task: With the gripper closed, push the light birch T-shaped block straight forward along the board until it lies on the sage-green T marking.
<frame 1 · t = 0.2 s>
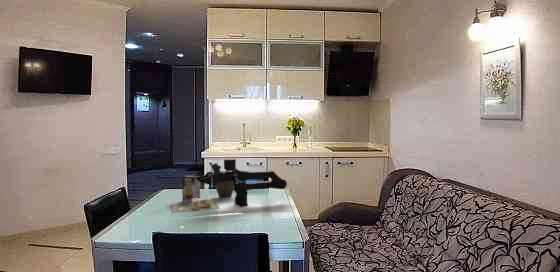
hand: (197, 179, 220), 16 cm above the table, tool horizontal, fingers open, 9 cm apart
plant pot: (225, 197, 251), on the table
coffee box: (191, 202, 237), on the table
t block: (201, 206, 221), point 1 cm above the table, touching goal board
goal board: (194, 208, 220), on the table
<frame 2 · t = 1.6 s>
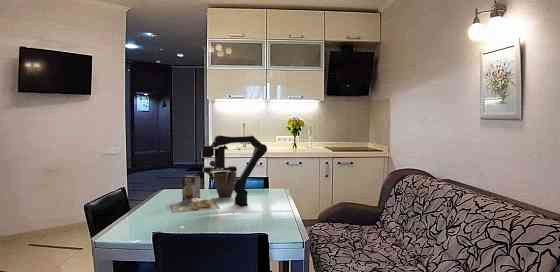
hand: (219, 184, 224), 13 cm above the table, tool pointing down, fingers open, 8 cm apart
nothing on the table moved.
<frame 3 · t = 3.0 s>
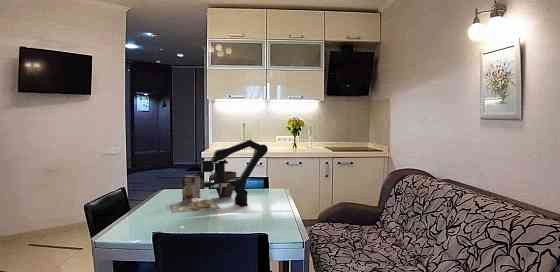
hand: (220, 198, 225), 5 cm above the table, tool pointing down, fingers closed
nothing on the table moved.
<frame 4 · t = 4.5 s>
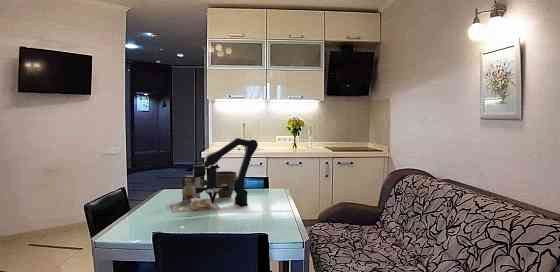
hand: (212, 203, 223), 2 cm above the table, tool pointing down, fingers closed
t block: (200, 206, 221), point 1 cm above the table, touching gripper
everything else where it was.
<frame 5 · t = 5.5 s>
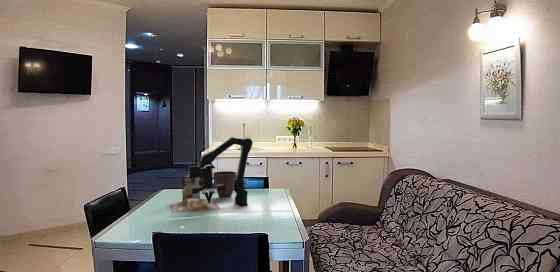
hand: (209, 203, 223), 2 cm above the table, tool pointing down, fingers closed
t block: (197, 206, 221), point 1 cm above the table, touching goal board, gripper
everything else where it was.
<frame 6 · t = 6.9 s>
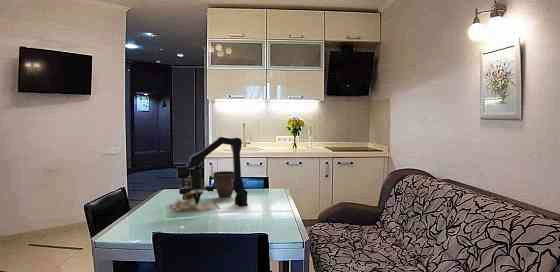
hand: (197, 204, 221), 2 cm above the table, tool pointing down, fingers closed
t block: (185, 207, 219), point 1 cm above the table, touching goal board, gripper
everything else where it was.
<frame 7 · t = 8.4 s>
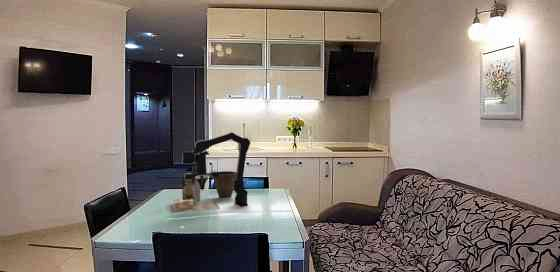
hand: (202, 190, 221), 10 cm above the table, tool pointing down, fingers closed
t block: (183, 207, 218), point 1 cm above the table, touching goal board
everything else where it was.
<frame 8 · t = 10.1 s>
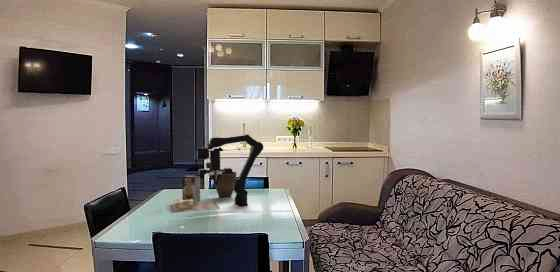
hand: (215, 186, 223), 12 cm above the table, tool pointing down, fingers closed
nothing on the table moved.
at the end: t block 0.4 cm from the target spot, point 1.0 cm above the table; t block tilted 0° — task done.
